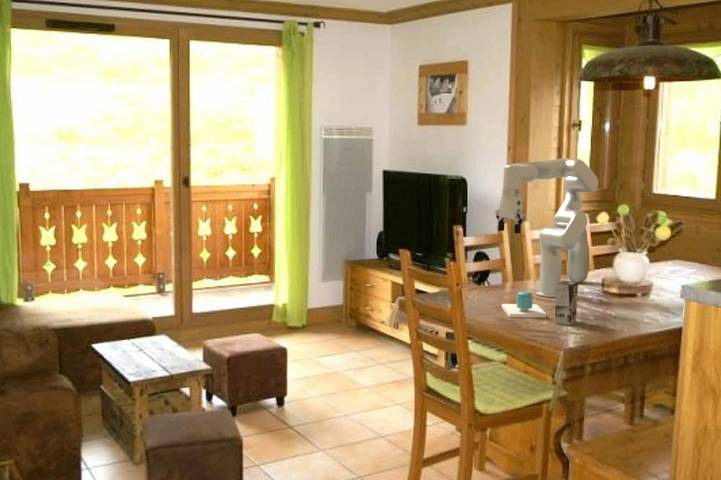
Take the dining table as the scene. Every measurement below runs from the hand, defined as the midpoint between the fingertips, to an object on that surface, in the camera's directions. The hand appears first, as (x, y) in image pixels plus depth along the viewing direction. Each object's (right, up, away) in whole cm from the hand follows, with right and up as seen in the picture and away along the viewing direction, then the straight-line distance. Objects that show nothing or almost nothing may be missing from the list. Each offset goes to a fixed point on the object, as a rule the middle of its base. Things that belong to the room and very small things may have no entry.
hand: (509, 232), depth 342 cm
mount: (+3, -34, -15) cm, 37 cm away
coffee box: (+17, -37, -31) cm, 51 cm away
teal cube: (+3, -31, -19) cm, 37 cm away
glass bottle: (+44, -25, +50) cm, 71 cm away
